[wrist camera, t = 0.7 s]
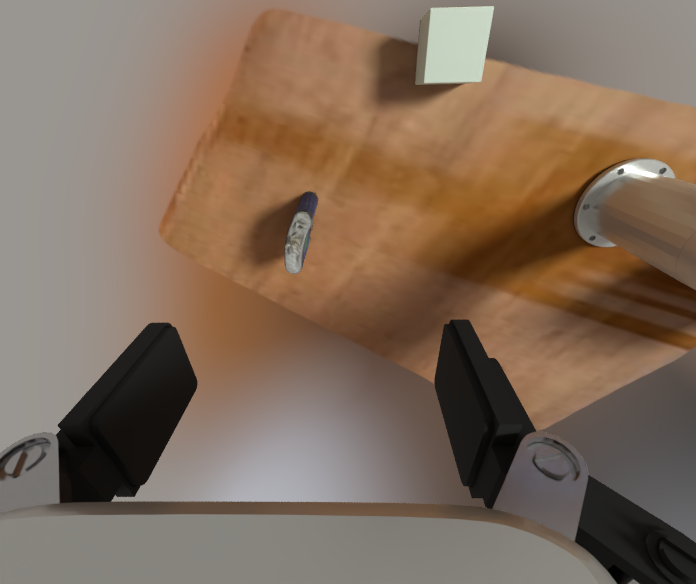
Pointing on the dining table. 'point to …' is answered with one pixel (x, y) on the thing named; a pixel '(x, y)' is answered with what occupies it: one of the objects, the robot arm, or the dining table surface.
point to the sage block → (453, 45)
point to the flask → (300, 233)
